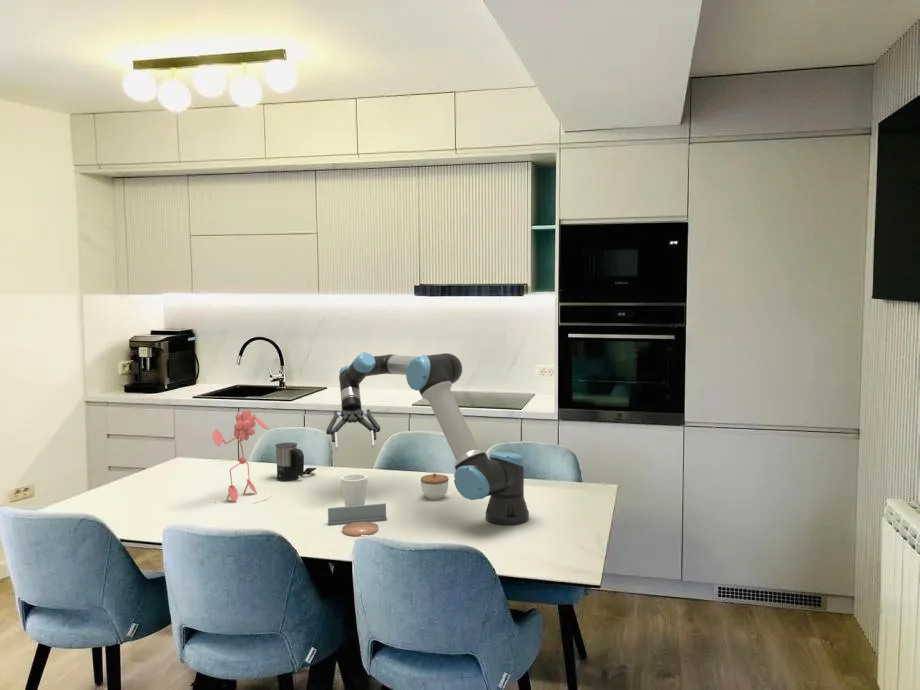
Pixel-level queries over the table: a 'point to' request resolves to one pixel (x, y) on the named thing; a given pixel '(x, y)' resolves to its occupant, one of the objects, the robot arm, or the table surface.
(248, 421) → the figurine
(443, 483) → the lidded jar
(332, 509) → the low wall
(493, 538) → the table surface
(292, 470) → the milk frother
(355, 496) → the foam cup
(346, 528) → the terracotta coaster
